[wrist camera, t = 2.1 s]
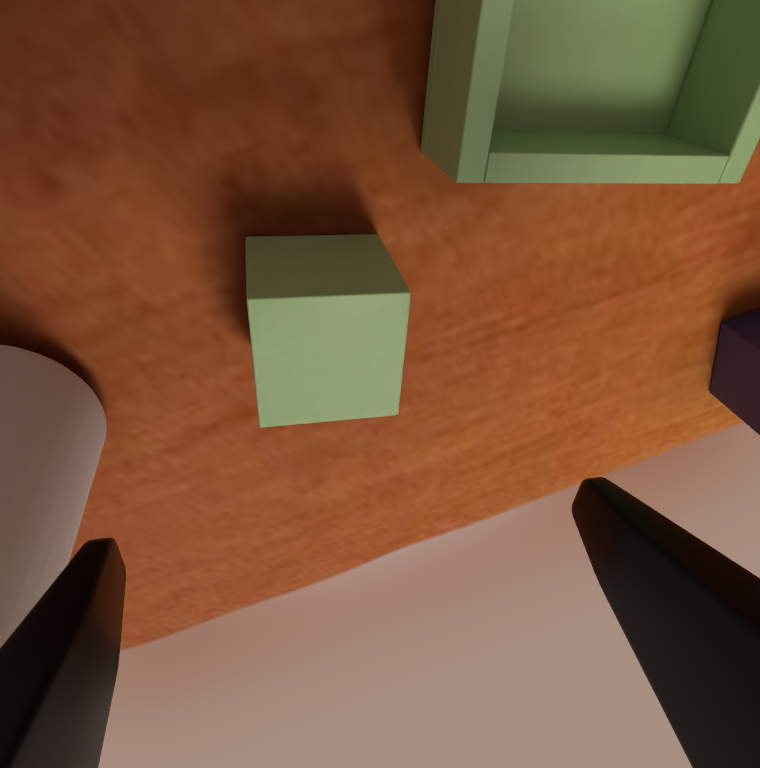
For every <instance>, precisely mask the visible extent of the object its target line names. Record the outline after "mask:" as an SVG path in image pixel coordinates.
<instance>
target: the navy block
mask: <svg viewBox="0 0 760 768" xmlns="http://www.w3.org/2000/svg"><path fill="white" fill-rule="evenodd" d="M710 393H711V394H712V395H713V396H715V397H716V398H717V399H718V400H719V401H720V402H722V403H723V404H724V405H725V406H726V407H728V408H729V409H730V410H731V411H732V412H733V413H735V414H736V415H737V416H738V417H739V418H740V419H742V420H743V421H744V422H745V423H746V424H747V425H749V426H750V427H751V428H752V429H753V430H754V431H756V432H757V433H758V434H759V435H760V309H757V310H755V311H752V312H749V313H746V314H744V315H741V316H738V317H735V318H733V319H730V320H727V321H724V322H722V323H721V329H720V335H719V340H718V346H717V352H716V358H715V364H714V369H713V375H712V381H711V387H710Z"/></svg>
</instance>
